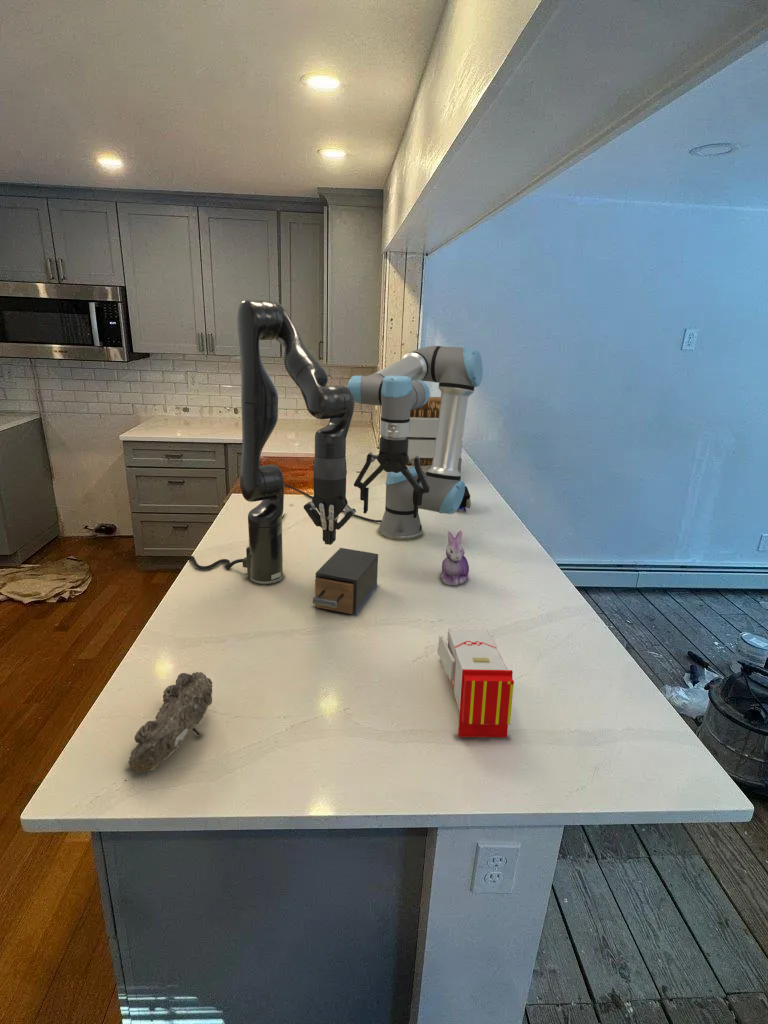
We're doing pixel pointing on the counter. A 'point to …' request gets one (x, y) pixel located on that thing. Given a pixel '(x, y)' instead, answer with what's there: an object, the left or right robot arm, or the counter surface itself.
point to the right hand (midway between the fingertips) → (390, 514)
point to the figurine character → (465, 500)
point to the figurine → (454, 561)
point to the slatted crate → (425, 432)
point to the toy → (478, 682)
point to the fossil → (172, 721)
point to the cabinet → (353, 572)
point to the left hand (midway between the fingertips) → (329, 543)
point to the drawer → (334, 595)
